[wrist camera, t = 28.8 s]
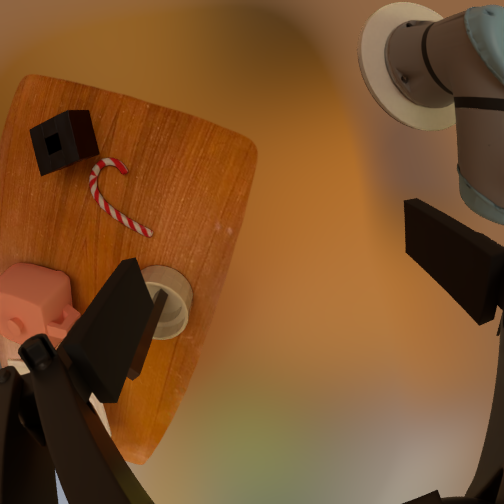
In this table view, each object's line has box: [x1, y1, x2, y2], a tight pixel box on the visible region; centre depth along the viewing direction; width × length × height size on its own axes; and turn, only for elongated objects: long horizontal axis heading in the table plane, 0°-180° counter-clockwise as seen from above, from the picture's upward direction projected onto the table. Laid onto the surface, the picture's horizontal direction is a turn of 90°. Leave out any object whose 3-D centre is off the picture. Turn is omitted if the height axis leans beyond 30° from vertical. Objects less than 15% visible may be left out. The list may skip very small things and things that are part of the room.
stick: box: [127, 289, 168, 381], centre depth 45 cm, size 2×2×20 cm
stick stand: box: [30, 110, 99, 176], centre depth 40 cm, size 8×8×7 cm
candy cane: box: [89, 158, 153, 238], centre depth 47 cm, size 8×1×15 cm
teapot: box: [0, 263, 81, 348], centre depth 47 cm, size 22×13×14 cm, turn 78°
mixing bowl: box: [141, 265, 193, 340], centre depth 52 cm, size 11×11×6 cm
